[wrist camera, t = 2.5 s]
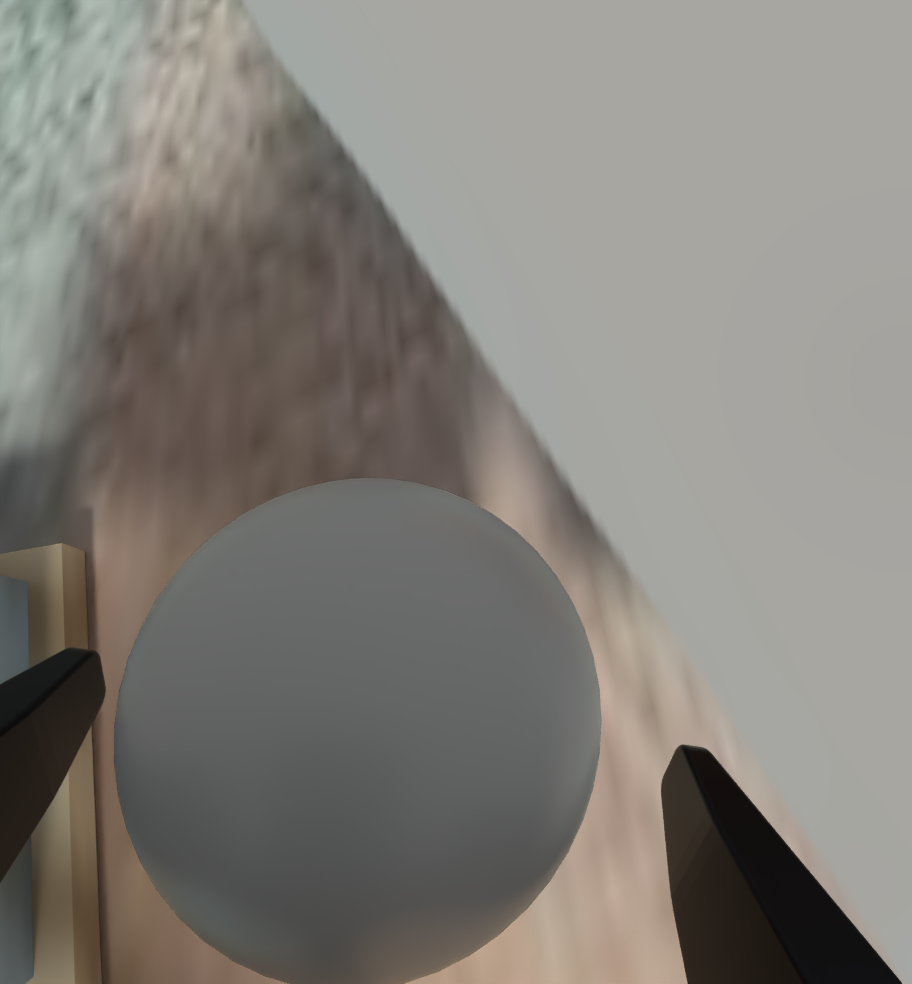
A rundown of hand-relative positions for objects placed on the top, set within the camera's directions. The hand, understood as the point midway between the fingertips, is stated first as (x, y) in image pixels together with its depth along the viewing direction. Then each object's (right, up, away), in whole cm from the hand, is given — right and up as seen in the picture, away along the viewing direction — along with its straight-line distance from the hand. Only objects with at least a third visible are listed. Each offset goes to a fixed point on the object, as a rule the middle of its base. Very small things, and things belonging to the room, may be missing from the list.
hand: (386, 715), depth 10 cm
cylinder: (0, -2, +8) cm, 8 cm away
